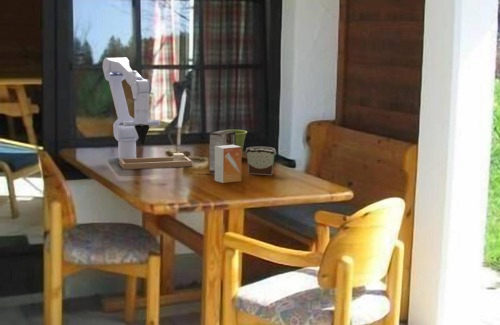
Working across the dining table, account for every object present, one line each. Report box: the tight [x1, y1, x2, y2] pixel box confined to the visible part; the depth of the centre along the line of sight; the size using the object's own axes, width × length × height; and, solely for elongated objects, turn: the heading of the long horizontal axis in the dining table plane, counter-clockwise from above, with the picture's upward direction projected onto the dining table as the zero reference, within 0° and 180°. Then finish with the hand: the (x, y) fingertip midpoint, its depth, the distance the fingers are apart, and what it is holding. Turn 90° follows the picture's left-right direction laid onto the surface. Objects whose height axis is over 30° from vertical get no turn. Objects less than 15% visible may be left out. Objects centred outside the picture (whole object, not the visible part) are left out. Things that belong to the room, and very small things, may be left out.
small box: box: [214, 145, 243, 184], centre depth 332 cm, size 8×6×13 cm
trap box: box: [118, 155, 193, 170], centre depth 357 cm, size 12×27×4 cm, turn 106°
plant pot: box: [226, 129, 248, 158], centre depth 382 cm, size 12×12×11 cm
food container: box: [244, 146, 277, 176], centre depth 348 cm, size 12×6×10 cm, turn 71°
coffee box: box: [208, 129, 236, 175], centre depth 347 cm, size 9×6×16 cm
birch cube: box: [172, 152, 186, 161], centre depth 359 cm, size 4×4×4 cm
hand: (142, 144), depth 358 cm, fingers closed
